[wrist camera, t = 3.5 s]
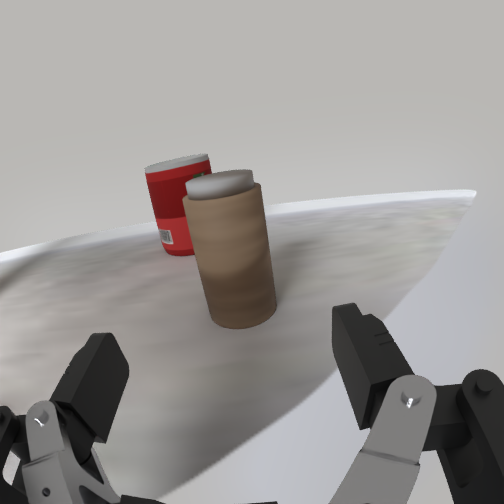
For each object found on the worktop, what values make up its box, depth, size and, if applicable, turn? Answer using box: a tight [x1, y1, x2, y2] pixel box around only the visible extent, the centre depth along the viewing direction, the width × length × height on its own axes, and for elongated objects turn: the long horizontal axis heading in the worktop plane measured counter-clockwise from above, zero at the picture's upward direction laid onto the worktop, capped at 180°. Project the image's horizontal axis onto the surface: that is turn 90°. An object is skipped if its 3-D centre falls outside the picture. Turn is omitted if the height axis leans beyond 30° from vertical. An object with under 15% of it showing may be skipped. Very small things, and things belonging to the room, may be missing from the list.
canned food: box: [145, 154, 212, 256], centre depth 35 cm, size 8×8×11 cm
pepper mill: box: [183, 170, 277, 329], centre depth 20 cm, size 5×5×10 cm
